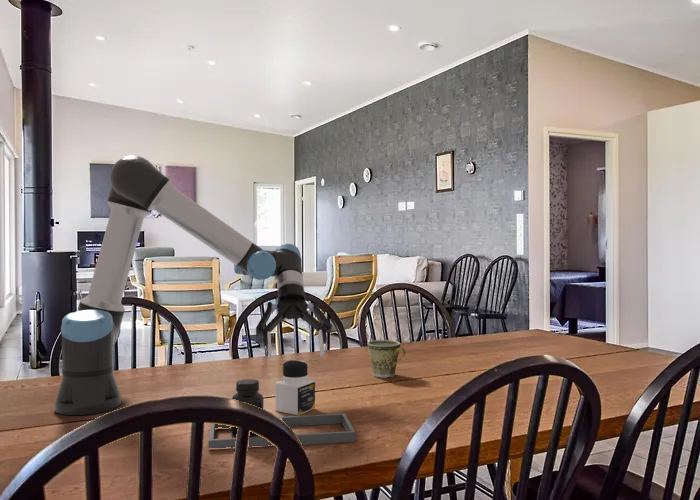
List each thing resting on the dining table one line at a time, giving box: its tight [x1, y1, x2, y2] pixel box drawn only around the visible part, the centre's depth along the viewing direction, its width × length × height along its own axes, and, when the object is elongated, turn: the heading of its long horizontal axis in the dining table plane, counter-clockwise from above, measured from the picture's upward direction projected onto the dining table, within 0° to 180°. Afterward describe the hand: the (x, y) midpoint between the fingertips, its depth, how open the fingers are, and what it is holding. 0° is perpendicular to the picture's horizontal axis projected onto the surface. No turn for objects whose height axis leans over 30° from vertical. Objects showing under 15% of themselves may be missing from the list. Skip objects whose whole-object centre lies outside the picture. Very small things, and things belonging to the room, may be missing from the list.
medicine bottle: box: [274, 359, 316, 416], centre depth 147 cm, size 7×7×12 cm
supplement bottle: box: [230, 378, 264, 438], centre depth 127 cm, size 7×7×12 cm
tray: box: [207, 412, 357, 449], centre depth 128 cm, size 30×13×2 cm, turn 100°
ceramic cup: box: [367, 339, 406, 379], centre depth 181 cm, size 13×10×10 cm
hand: (296, 354), depth 154 cm, fingers open, 13 cm apart
